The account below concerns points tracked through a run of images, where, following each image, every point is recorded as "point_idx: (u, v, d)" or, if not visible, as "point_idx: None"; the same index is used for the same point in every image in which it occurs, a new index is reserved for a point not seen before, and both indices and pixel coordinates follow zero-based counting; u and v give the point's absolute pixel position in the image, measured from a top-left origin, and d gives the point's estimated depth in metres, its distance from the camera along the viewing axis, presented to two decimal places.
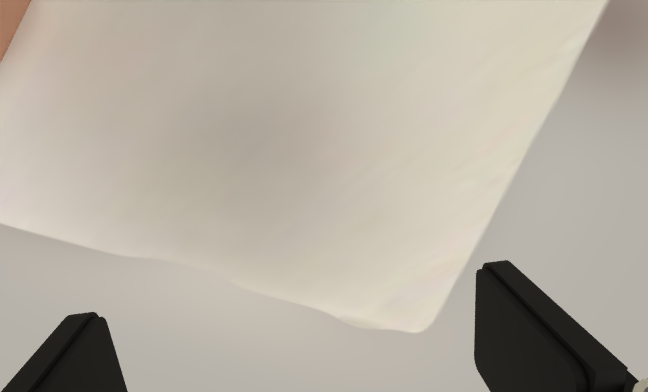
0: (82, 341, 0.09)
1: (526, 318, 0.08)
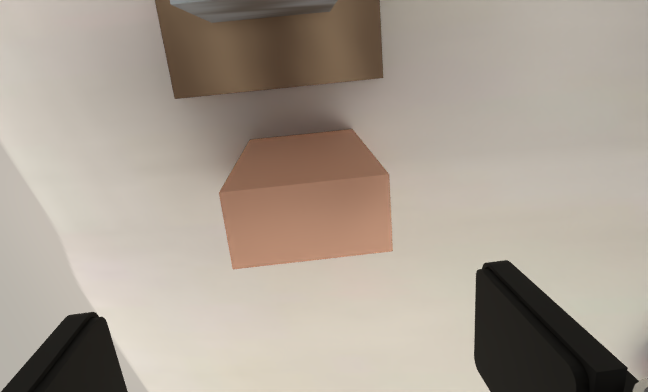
0: (82, 341, 0.09)
1: (526, 318, 0.08)
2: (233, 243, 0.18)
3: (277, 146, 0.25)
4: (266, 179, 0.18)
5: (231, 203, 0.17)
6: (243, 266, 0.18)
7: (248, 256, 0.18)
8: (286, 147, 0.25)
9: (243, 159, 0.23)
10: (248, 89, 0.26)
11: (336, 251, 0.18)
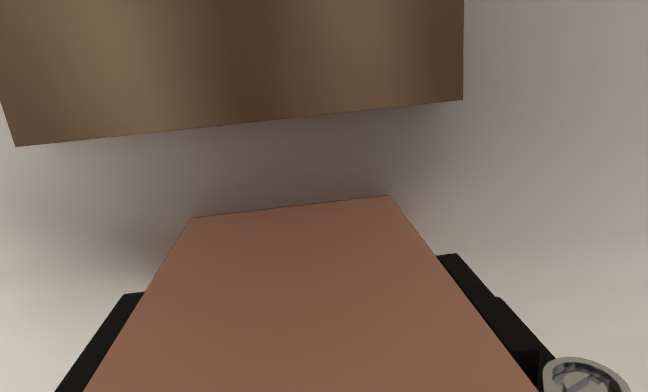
0: None
1: None
2: None
3: (237, 254, 0.11)
4: None
5: None
6: None
7: None
8: (256, 262, 0.11)
9: (140, 321, 0.09)
10: (177, 125, 0.12)
11: None
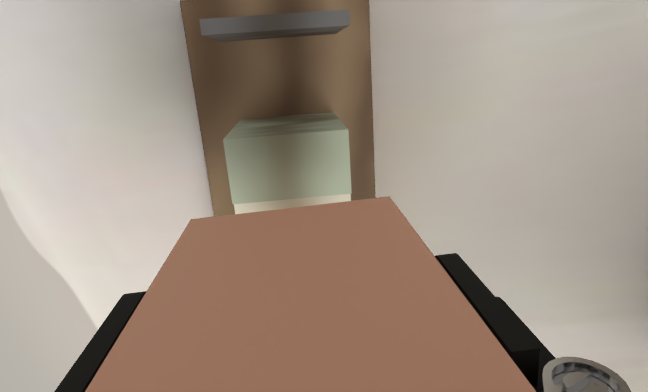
0: None
1: None
2: None
3: (238, 256, 0.11)
4: None
5: None
6: None
7: None
8: (256, 264, 0.11)
9: (140, 322, 0.09)
10: None
11: None
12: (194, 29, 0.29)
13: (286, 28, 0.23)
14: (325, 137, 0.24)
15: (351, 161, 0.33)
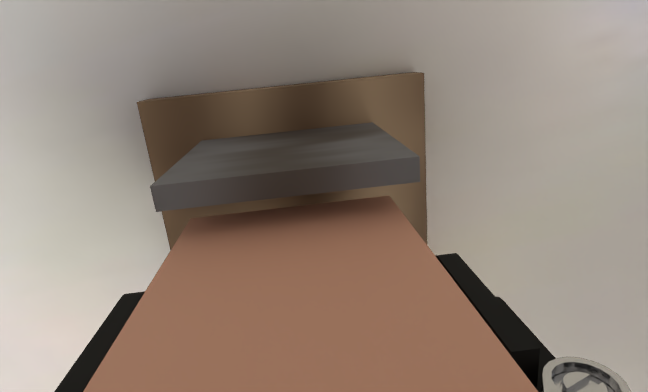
0: None
1: None
2: None
3: (237, 254, 0.11)
4: None
5: None
6: None
7: None
8: (256, 263, 0.11)
9: (140, 321, 0.09)
10: None
11: None
12: (161, 141, 0.19)
13: (307, 192, 0.13)
14: None
15: None
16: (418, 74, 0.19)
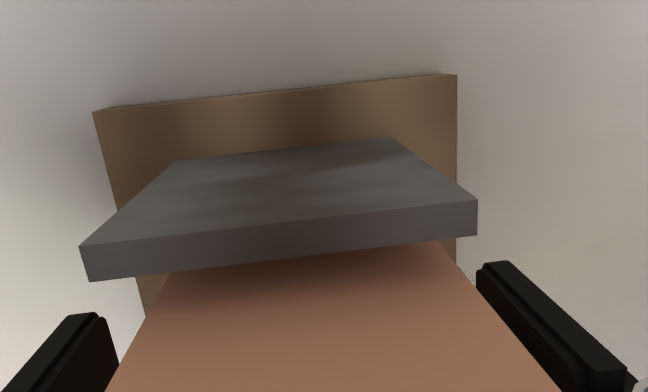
0: (82, 341, 0.09)
1: (526, 318, 0.08)
2: None
3: None
4: None
5: None
6: None
7: None
8: None
9: (175, 285, 0.10)
10: None
11: None
12: (124, 161, 0.15)
13: (313, 252, 0.09)
14: None
15: None
16: (450, 76, 0.15)
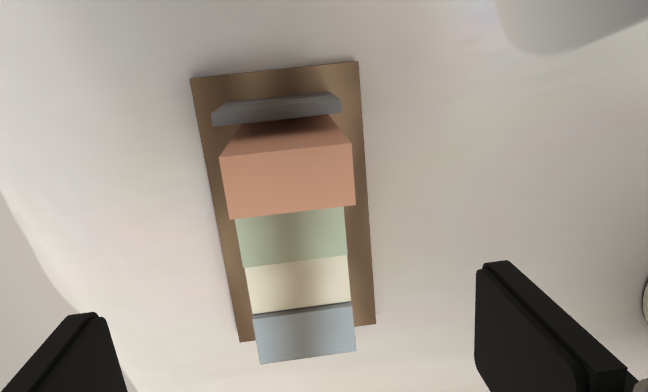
0: (82, 341, 0.09)
1: (526, 318, 0.08)
2: (230, 198, 0.23)
3: (265, 128, 0.30)
4: (256, 148, 0.23)
5: (228, 165, 0.22)
6: (237, 217, 0.23)
7: (241, 209, 0.23)
8: (272, 128, 0.29)
9: (236, 137, 0.27)
10: None
11: (311, 205, 0.23)
12: (203, 102, 0.32)
13: (286, 117, 0.26)
14: (323, 209, 0.27)
15: (347, 211, 0.36)
16: (355, 62, 0.32)
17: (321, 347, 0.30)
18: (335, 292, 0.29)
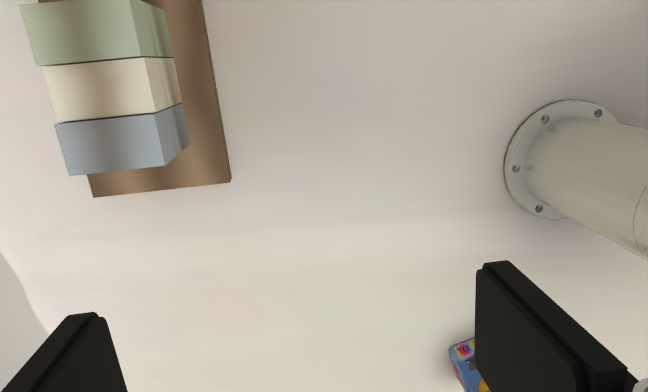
0: (82, 341, 0.09)
1: (526, 318, 0.08)
2: None
3: None
4: None
5: None
6: None
7: None
8: None
9: None
10: (141, 191, 0.40)
11: None
12: None
13: None
14: (108, 2, 0.28)
15: (187, 57, 0.37)
16: None
17: (129, 159, 0.31)
18: (138, 101, 0.30)
